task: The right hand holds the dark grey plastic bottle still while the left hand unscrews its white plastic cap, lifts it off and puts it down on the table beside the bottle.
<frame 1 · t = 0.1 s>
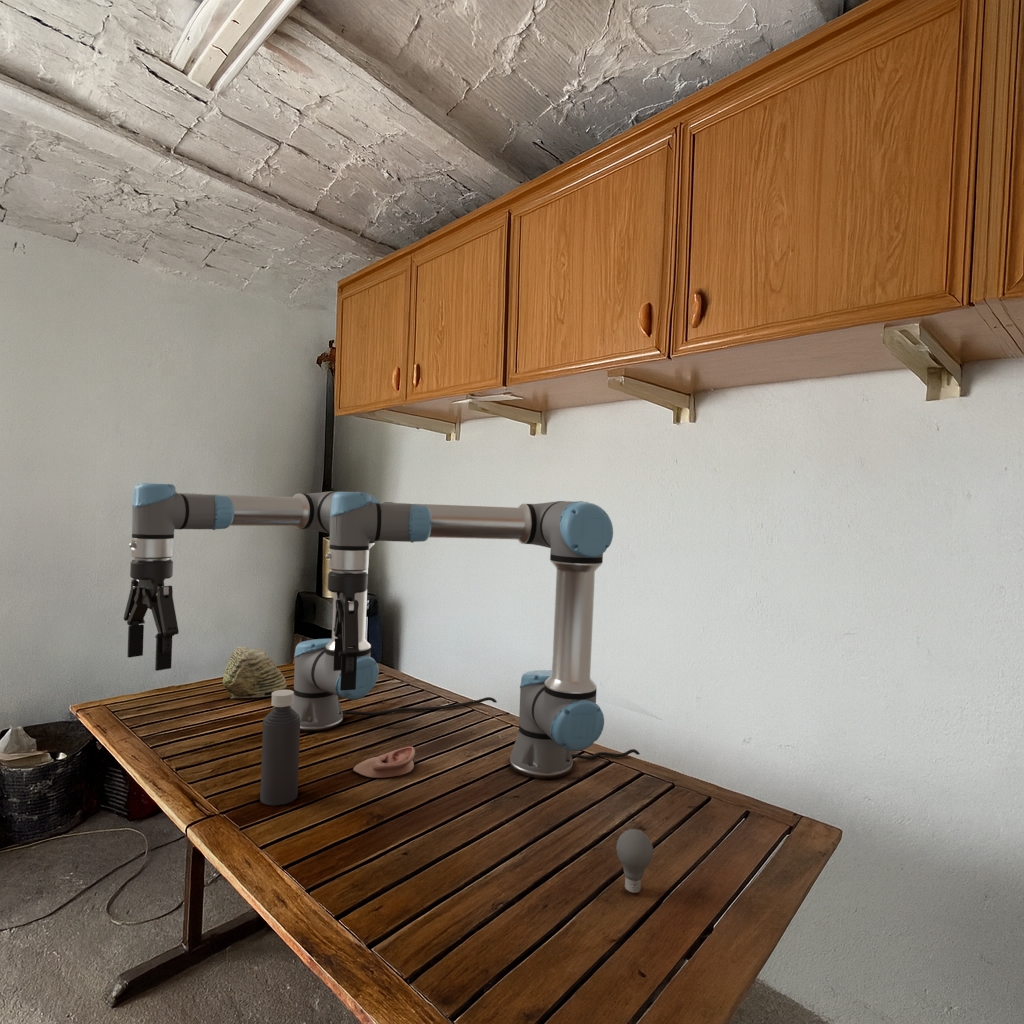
left hand: (148, 662, 129), 28 cm above the table, tool pointing down, fingers open, 13 cm apart
right hand: (343, 679, 124), 28 cm above the table, tool pointing down, fingers open, 13 cm apart
fossil: (254, 694, 198), on the table
light bulb: (632, 891, 106), on the table
cap: (282, 694, 132), point 22 cm above the table, screwed on, not yet turned
bottle: (279, 797, 133), on the table
anatomical model: (384, 768, 149), on the table
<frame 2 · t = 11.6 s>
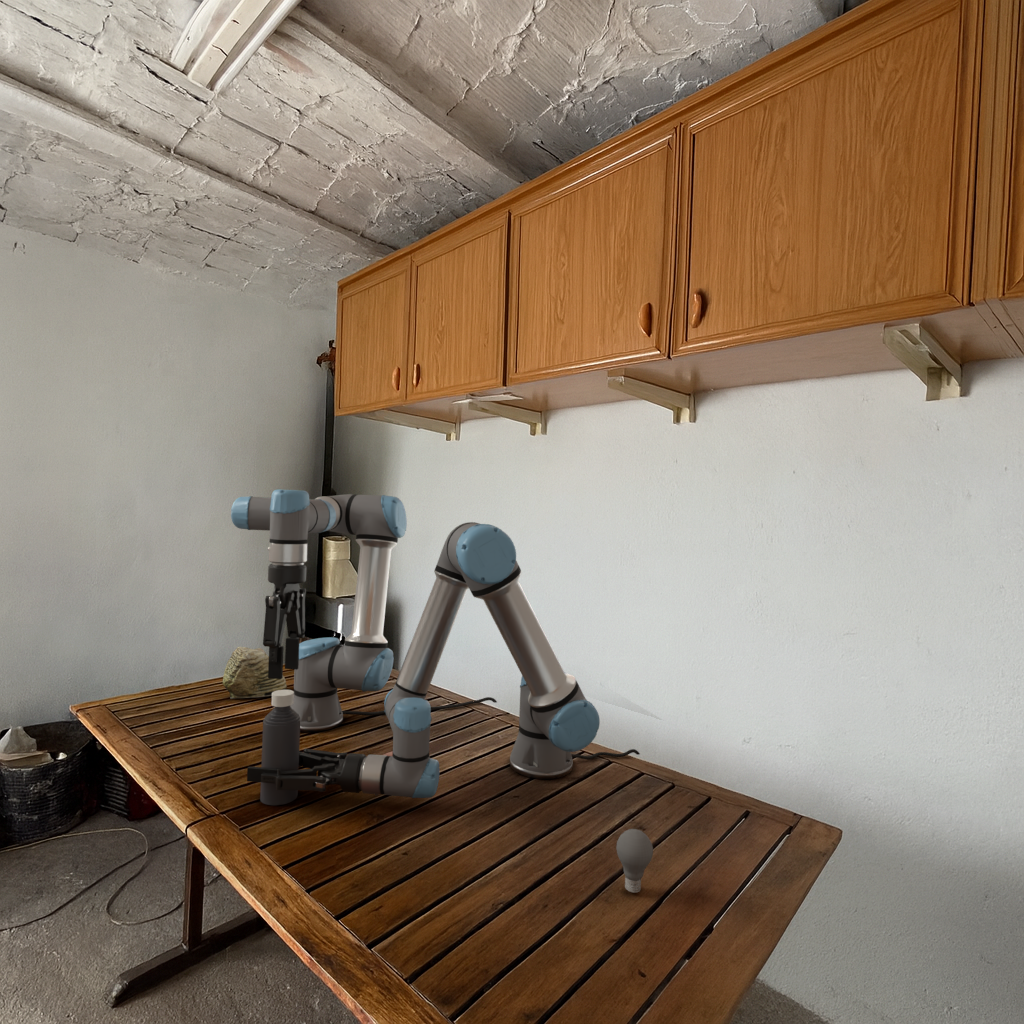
left hand: (283, 673, 132), 26 cm above the table, tool pointing down, fingers open, 7 cm apart
right hand: (257, 765, 133), 6 cm above the table, tool horizontal, fingers closed on bottle, 7 cm apart
bottle: (279, 797, 133), on the table, touching right hand
everything else where it was.
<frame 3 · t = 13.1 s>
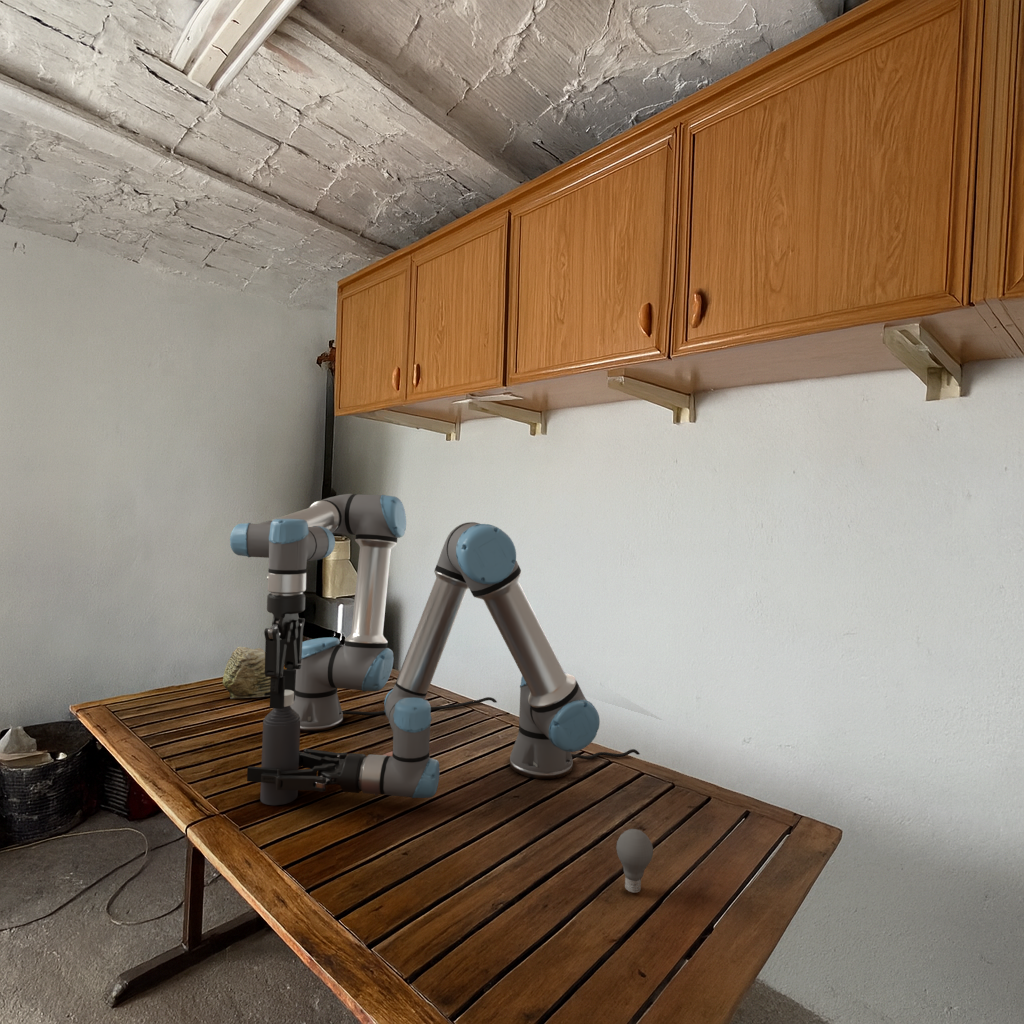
left hand: (282, 703, 133), 20 cm above the table, tool pointing down, fingers closed on cap, 4 cm apart
right hand: (257, 765, 133), 6 cm above the table, tool horizontal, fingers closed on bottle, 7 cm apart
cap: (282, 694, 132), point 22 cm above the table, screwed on, not yet turned, touching left hand
bottle: (279, 797, 133), on the table, touching right hand
everything else where it was.
when the left hand's fingers open (2 cm above the table, at t = 30.7 s): cap drops 2 cm, point 2 cm above the table.
when the right hand's fingers open (6 cm above the table, at t = 32.0 s): bottle stays where it is, on the table.
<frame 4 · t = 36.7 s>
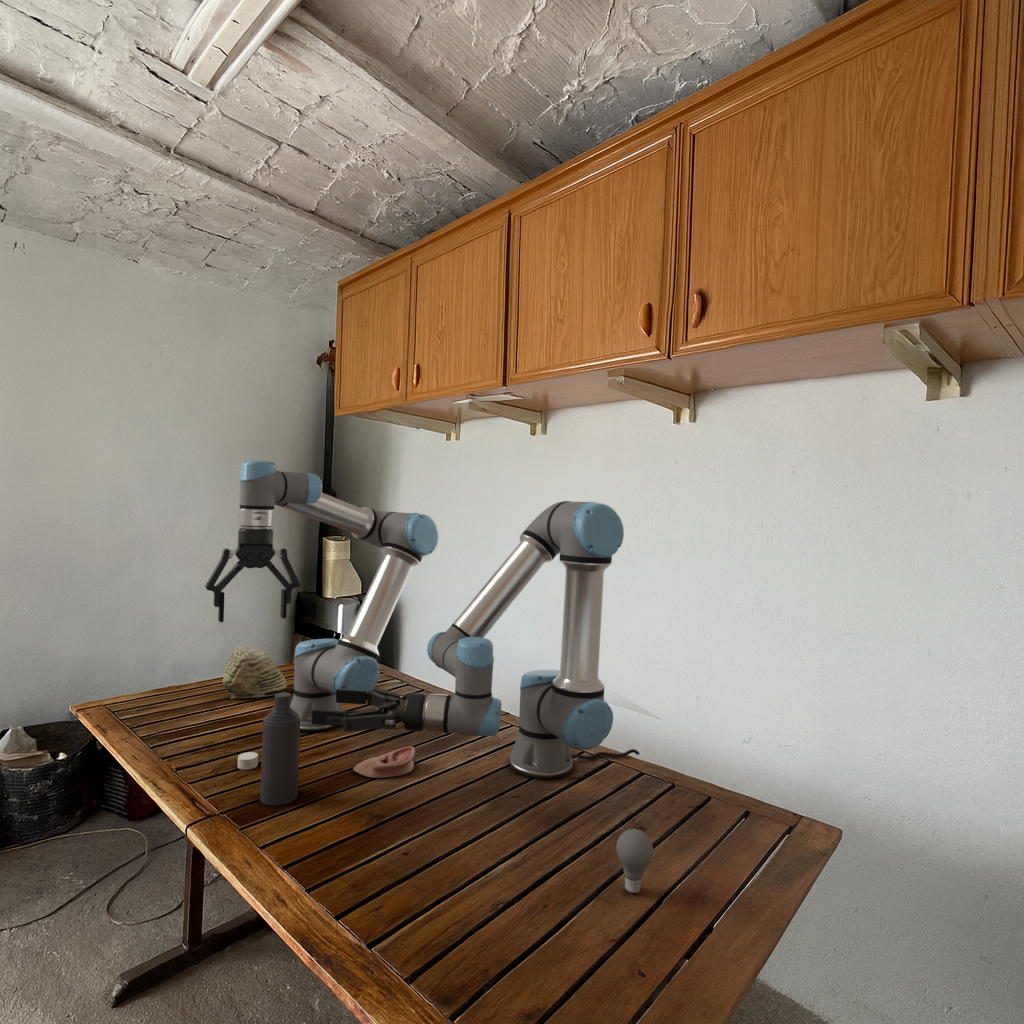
left hand: (252, 619, 147), 34 cm above the table, tool pointing down, fingers open, 13 cm apart
right hand: (325, 705, 132), 20 cm above the table, tool horizontal, fingers open, 13 cm apart
cap: (248, 757, 147), point 2 cm above the table, off its thread
bottle: (279, 797, 133), on the table
everything else where it was.
at the end: cap came off its thread; cap point 2.0 cm above the table; the left hand is holding nothing; the right hand is holding nothing; bottle tilted 0°; bottle moved 0.0 cm from its start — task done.
